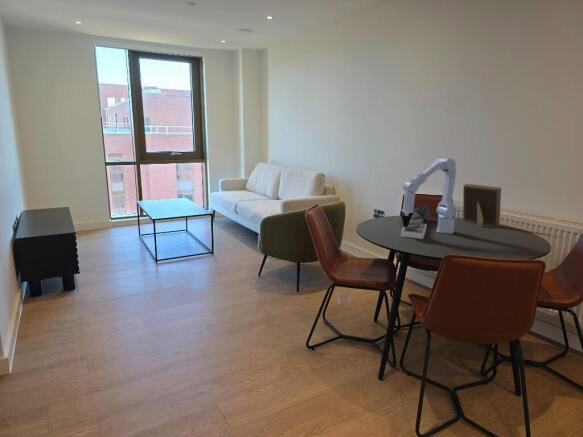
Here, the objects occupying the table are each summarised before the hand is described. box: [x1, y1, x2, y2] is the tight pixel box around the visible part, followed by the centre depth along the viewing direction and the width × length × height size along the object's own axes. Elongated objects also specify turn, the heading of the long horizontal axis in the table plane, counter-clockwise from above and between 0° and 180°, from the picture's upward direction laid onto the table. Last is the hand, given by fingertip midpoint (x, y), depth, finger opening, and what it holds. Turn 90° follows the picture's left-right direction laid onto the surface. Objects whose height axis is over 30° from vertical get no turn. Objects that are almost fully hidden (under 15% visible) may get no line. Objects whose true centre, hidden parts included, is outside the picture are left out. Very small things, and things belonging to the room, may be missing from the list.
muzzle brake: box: [410, 204, 431, 221], centre depth 258 cm, size 10×28×10 cm, turn 151°
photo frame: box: [462, 183, 502, 228], centre depth 256 cm, size 15×22×25 cm
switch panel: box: [400, 222, 427, 240], centre depth 233 cm, size 12×24×4 cm, turn 158°
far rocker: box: [409, 219, 424, 224], centre depth 237 cm, size 8×9×2 cm
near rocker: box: [405, 223, 421, 230], centre depth 227 cm, size 8×9×2 cm
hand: (406, 225), depth 228 cm, fingers open, 7 cm apart
